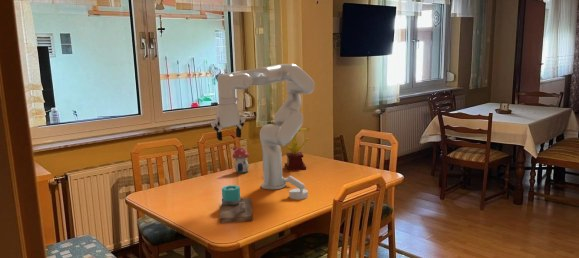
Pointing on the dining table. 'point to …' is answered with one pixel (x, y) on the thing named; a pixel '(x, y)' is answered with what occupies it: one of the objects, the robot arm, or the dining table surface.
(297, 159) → the potted plant
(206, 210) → the dining table surface
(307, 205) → the dining table surface
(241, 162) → the decorative ornament
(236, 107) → the robot arm
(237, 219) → the board
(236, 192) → the collar
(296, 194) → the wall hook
